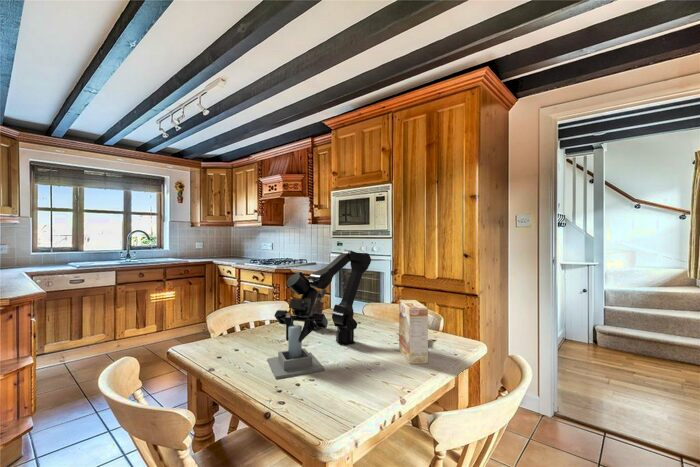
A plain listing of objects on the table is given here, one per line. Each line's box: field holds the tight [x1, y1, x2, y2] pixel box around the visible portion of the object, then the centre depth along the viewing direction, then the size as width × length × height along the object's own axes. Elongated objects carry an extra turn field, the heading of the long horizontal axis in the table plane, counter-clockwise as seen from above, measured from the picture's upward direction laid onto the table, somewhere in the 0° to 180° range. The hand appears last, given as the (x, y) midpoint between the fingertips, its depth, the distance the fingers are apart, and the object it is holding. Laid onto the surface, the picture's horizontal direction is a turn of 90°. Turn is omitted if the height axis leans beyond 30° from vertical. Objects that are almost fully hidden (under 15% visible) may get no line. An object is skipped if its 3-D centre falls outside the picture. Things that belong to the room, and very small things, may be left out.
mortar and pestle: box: [311, 288, 328, 331], centre depth 155 cm, size 12×9×20 cm
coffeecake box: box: [398, 299, 429, 365], centre depth 120 cm, size 15×7×20 cm, turn 5°
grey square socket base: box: [266, 347, 325, 380], centre depth 110 cm, size 16×16×4 cm
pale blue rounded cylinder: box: [287, 324, 303, 360], centre depth 111 cm, size 4×4×11 cm
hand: (293, 340), depth 109 cm, fingers closed on pale blue rounded cylinder, 4 cm apart
